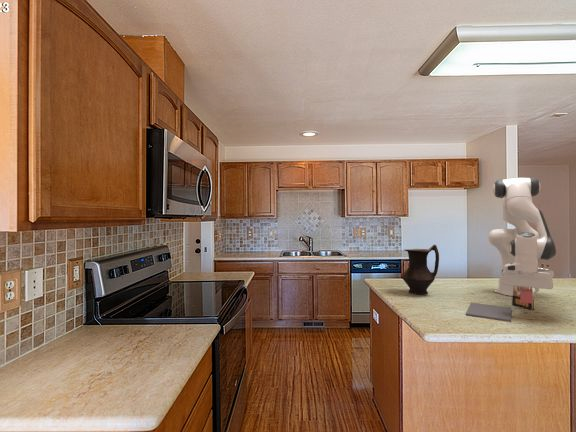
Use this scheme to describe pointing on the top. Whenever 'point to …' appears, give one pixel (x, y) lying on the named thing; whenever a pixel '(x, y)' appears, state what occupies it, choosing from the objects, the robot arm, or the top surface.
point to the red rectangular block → (526, 295)
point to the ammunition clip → (518, 303)
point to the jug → (420, 270)
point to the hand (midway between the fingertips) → (526, 296)
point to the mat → (489, 311)
